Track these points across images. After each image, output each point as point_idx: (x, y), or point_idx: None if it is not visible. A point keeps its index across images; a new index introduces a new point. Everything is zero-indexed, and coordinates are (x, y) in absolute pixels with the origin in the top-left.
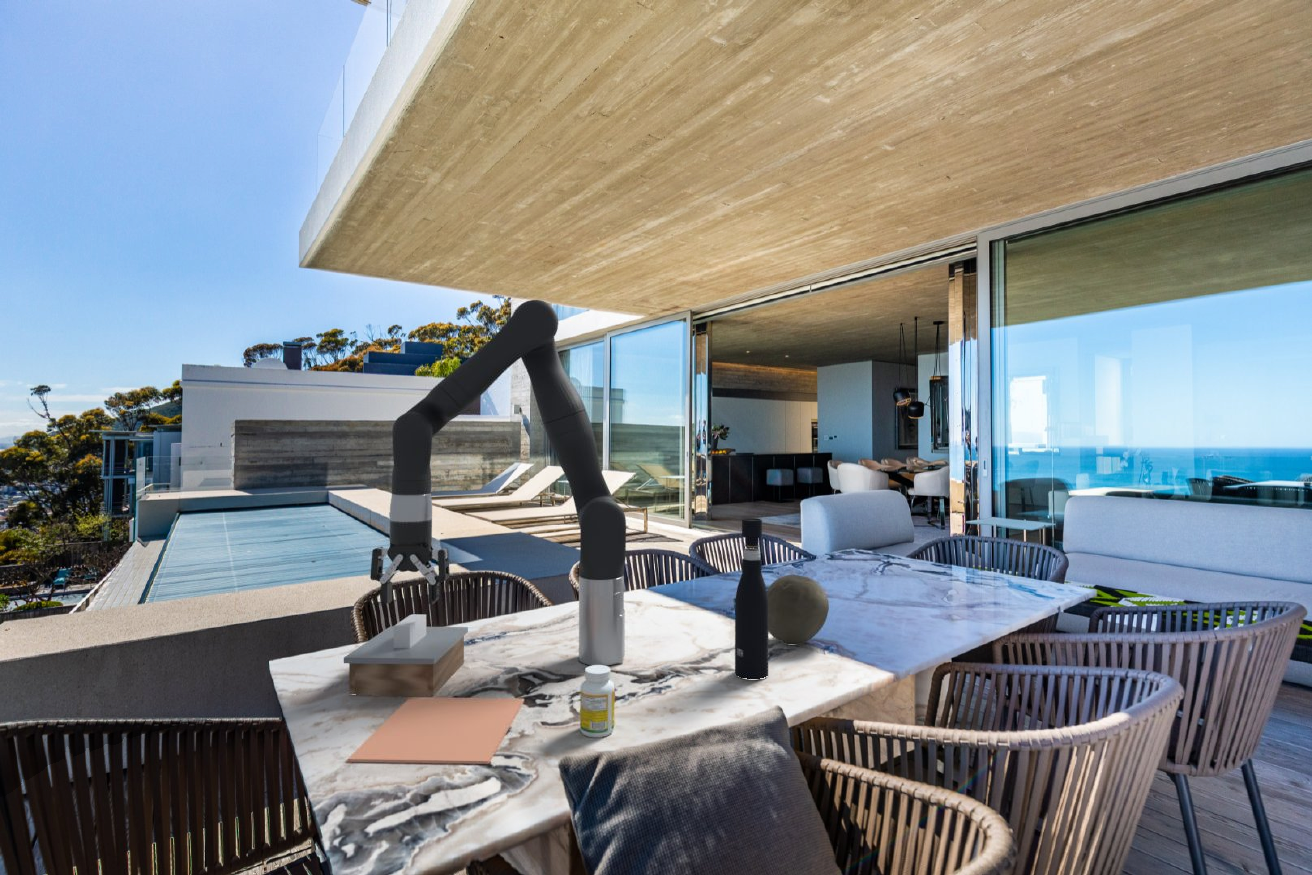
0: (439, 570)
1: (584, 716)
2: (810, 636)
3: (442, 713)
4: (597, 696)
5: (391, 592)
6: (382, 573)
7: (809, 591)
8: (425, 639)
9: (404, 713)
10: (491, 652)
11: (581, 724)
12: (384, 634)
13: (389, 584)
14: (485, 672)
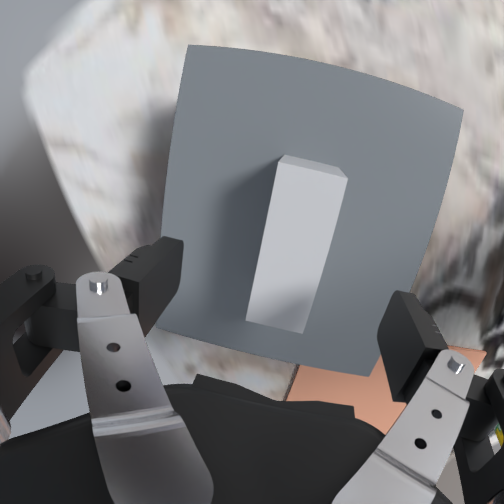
0: (463, 474)
1: (499, 442)
2: None
3: (370, 387)
4: None
5: (165, 262)
6: (52, 308)
7: None
8: (342, 220)
9: (313, 378)
10: (467, 62)
11: (496, 432)
12: (191, 137)
13: (142, 317)
14: (461, 203)
